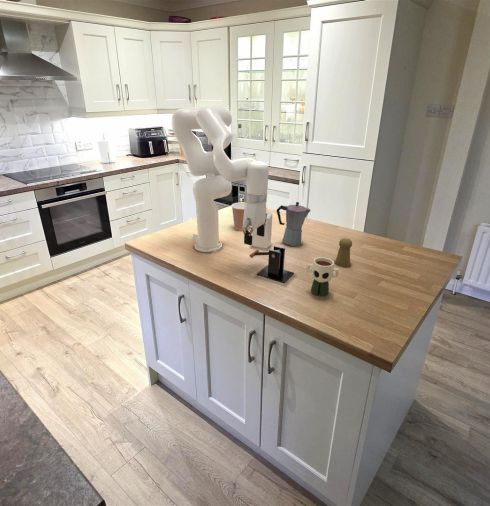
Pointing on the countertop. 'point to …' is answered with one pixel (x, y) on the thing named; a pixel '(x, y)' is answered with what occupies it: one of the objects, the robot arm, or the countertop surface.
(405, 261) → the countertop surface
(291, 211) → the moka pot
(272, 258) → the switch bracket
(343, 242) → the olive pepper mill
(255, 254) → the switch lever
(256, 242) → the milk carton
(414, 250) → the countertop surface
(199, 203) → the robot arm
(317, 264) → the character mug
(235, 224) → the coffee cup
